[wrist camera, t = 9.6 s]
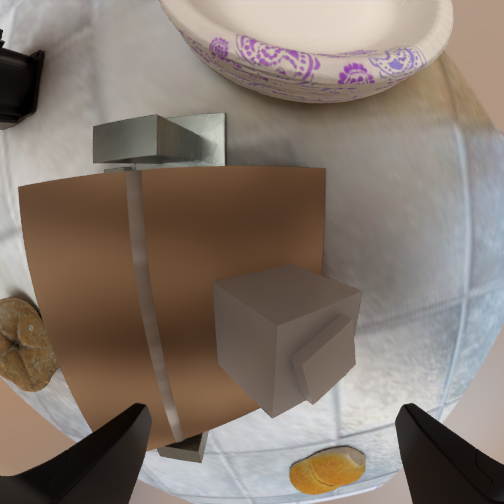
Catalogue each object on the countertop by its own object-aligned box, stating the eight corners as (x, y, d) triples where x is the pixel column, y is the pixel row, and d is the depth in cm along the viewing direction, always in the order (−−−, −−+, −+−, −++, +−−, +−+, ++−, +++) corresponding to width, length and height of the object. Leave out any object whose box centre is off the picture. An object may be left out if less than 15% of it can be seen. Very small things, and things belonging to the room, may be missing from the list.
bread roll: (276, 468, 26) (276, 494, 22) (337, 437, 24) (343, 465, 20) (317, 483, 27) (320, 506, 24) (374, 456, 25) (380, 479, 21)
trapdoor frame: (111, 128, 17) (37, 115, 9) (225, 114, 16) (195, 76, 9) (149, 393, 23) (119, 453, 16) (235, 403, 23) (225, 473, 15)
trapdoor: (38, 185, 12) (17, 186, 8) (271, 168, 20) (326, 168, 16) (96, 407, 16) (111, 461, 12) (269, 352, 25) (310, 382, 20)
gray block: (218, 363, 15) (281, 426, 10) (212, 281, 14) (289, 333, 9) (287, 337, 18) (354, 380, 13) (291, 263, 16) (373, 295, 12)
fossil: (37, 408, 18) (-35, 345, 15) (41, 394, 22) (-22, 339, 18) (74, 342, 22) (1, 277, 19) (75, 335, 26) (11, 279, 22)
